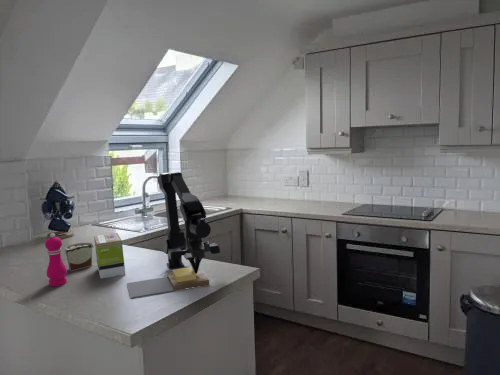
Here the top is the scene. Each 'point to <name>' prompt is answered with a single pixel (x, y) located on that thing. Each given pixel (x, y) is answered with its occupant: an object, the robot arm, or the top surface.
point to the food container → (79, 255)
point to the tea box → (109, 255)
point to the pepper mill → (55, 261)
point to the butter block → (184, 274)
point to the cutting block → (199, 281)
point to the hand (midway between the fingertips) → (195, 273)
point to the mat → (149, 287)
